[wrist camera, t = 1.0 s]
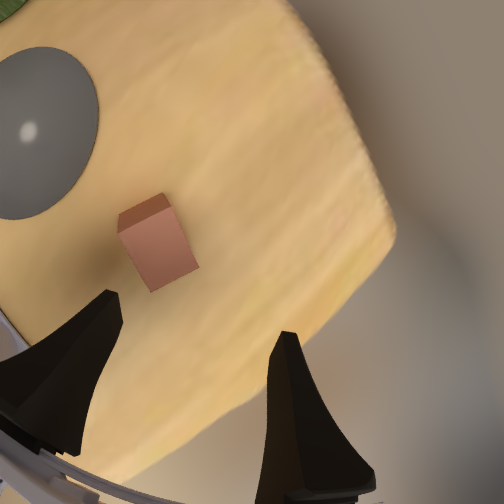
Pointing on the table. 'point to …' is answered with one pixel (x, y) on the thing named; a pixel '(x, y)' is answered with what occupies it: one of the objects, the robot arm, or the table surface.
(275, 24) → the table surface
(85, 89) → the plate
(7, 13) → the ramekin
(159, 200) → the block
